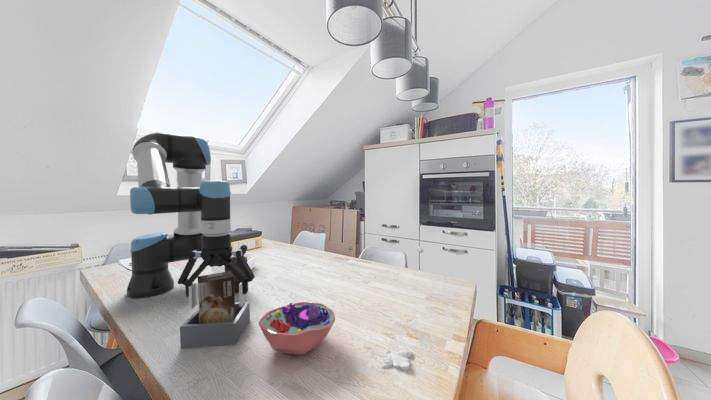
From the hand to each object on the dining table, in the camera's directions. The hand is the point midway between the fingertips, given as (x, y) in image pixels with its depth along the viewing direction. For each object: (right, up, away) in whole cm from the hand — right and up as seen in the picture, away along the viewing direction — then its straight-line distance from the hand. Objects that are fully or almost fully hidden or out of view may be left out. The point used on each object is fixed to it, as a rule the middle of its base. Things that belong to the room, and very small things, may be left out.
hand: (218, 305), depth 73 cm
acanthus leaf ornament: (+51, -10, -11) cm, 53 cm away
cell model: (+25, -9, -5) cm, 27 cm away
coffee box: (0, -7, 0) cm, 7 cm away
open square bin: (0, -8, 0) cm, 8 cm away
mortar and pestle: (-8, -7, +31) cm, 32 cm away
